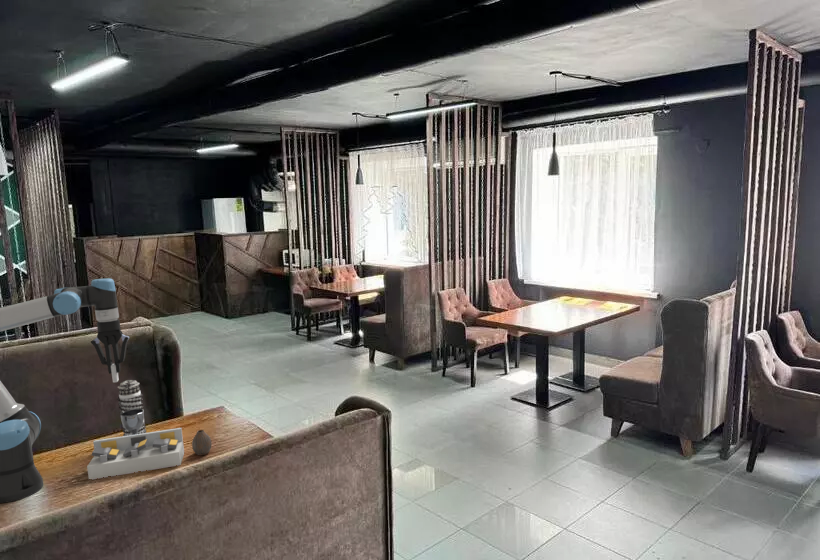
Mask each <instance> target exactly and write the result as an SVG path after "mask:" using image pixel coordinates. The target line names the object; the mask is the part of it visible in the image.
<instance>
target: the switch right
mask: <svg viewBox="0 0 820 560" xmlns="http://www.w3.org/2000/svg"><path fill="white" fill-rule="evenodd" d="M177 444H178V440H172V439H171V440H169V439H167V438H166V439H155V441H154V443H153V447H157V448H161V446H163V445H167V447H168V448H175V449H176V447H177Z"/></svg>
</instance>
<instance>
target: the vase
mask: <svg viewBox="0 0 820 560" xmlns="http://www.w3.org/2000/svg"><path fill="white" fill-rule="evenodd" d="M212 443H213V442H212V439H211V437H210V436H209V434H208V433H206V432H205V430H204V429H199V430H197V431H196V434H195V435H194V436H193V438H192V441H191V446H192V447H191V448H192V451H193V452H194V453H195V454H196V455H197V456H203V455H208V453H209V452H210V451H211V449H212Z"/></svg>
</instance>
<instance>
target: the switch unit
mask: <svg viewBox="0 0 820 560" xmlns="http://www.w3.org/2000/svg"><path fill="white" fill-rule="evenodd" d="M182 429H183V427H177V428H171V429H170V428H169V429H163V430H157V431H151V432H146V433H142V434H135V435H128V436H123V435H122V436H116V437H109V438H102V439H97V440H96V439H95V440H93V443H92V444H93V450H94V449H95V448H96V447H101V448H107V447H109V448H110V449H117V450H120V452H119V454H118V456H117V458H116V459H113V458H107V454H105V455H100V457H98V456H92V459H90V462H89V463H88V464H87V466H86V469H87V474H88V475H87V477H88V480H89V479H92V480H96V479H97V478H98V479H104V478H109V477H108V476H111V477H116V475H117V476H121V475H128V474H134V472H135V473H139V472H138V471H141V472H147V471H151V470H158V469H159V470H160V469H165V468H170V467H171V468H172V467H177V466H181V464H182V462H183V459H184V454H185V448H184V440H183V439H184V438H183V430H182ZM166 438H167V439H169V440H171V439H172V440H178V444H177V447H176V449H175V448H168V447H167V445H163V446H161V448H157V447H153V443H154V441H155V439H166ZM146 439H148V441H149V443H148V445H147V447H146V448H144V449H142V450H139V451H138V450H131V455H129V456H127V457H125V458H124V456H123V454H124V452H125V450H126V449H127V448H130V447H132V446H134V445H135V444H136V443H140V442H141V441H144V440H146ZM176 465H177V466H176ZM146 470H147V471H146ZM103 477H104V478H103Z"/></svg>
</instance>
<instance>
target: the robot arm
mask: <svg viewBox="0 0 820 560" xmlns="http://www.w3.org/2000/svg"><path fill="white" fill-rule="evenodd" d="M90 283H91V284H90V285H85V286H72V287H66V286H65V287H61V288H57V289H55V290H54V293H53V294H50V295H47V296H43V297H39V298H38V297H37V298H35V299H31V300H27V301H22V302H19V303H14V304H11V305H7V306H4V307H3V306H2V307H0V332H6V331H7V330H12V329H15V328H19V327H23V326H25V325H30V324H34V323H37V322H38V323H39V322H40V321H41V322H42V321H44V320H45V321H46V320H48V319H52V318H56V317H60V316H61V317H62V316H63V315H64V316H66V315H72V314H74V313H76V312H77V311H78V310H79V309H80V308H85V307H94V312H95V320H96V321H97V322H96V329H97V335H96V338H94V339H92V340H91V341H90V343H91V345H92V346H93V347H94V349H95V351H96V353H97V356H98V358H99V361H100V363H101V365H105V366H107V371H108V373H109V374H111V377H112V383H118V382H119V380H120V379H119V373H121V363H124V362H125V359H126V353H127V347H128V346H127V345H128V342H129V340H130V335H125V334H123V333H124V332H123V331H122V330H121V323H120V319H119V318H120V314H119V307H118V299H117V298H118V297H117V289H116V286H115V284H116V283H115V281H114V279H112V278H110V277H109V278H96V279H92V280H91V282H90ZM120 340H121V341H122V344H121V349H120V352H119V341H120ZM100 342H101V343H102V345H103V346H104V349H105V350H104V351H105V353H104V351H103V348H102V346H101V344H100ZM111 347H112V351H113V357H112V351H111ZM119 353H120V354H119ZM113 358H114V359H113ZM113 360H114V362H113ZM41 428H42V423H41V419H40V418H39V415H37V414H36V413H34V412H33V411H29V409H28V408H27V407H26V405H25V404H23V403H18V402H16V401H15V398H14V397H13V396H12V394H11V393H10V392H9V390H8V389H7V388H6V386H5V385H4V384H3V382H2V381H1V380H0V504H2V503H3V504H4V503H10V502H14V501H18V500H21V499H24V498H27V497H30V496H31V495H33V494H35V493H37V492H39V491H40V490H41V489H42V488H43V487H44V479H43V476H42V475H41V473H40V471H39V470H38V468H37V467H36V465H35V461H34V455H33V454H34V453H33V448H32V447H33V445H34V443H35V441H36V440H37V439H38V437H39V435H40V433H41Z"/></svg>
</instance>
